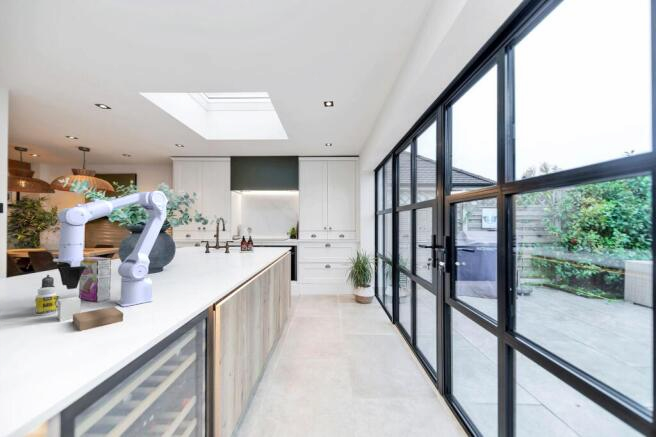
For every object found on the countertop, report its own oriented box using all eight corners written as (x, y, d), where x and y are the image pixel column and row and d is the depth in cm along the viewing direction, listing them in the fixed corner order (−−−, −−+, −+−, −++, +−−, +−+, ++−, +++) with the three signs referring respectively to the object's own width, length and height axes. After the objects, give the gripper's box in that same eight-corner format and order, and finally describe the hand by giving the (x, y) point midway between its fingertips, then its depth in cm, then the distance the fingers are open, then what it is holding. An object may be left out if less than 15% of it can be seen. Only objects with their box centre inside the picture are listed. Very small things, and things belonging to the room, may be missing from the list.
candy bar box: (77, 299, 104) (78, 257, 104) (92, 296, 109) (93, 256, 109) (96, 302, 100) (97, 259, 100) (110, 299, 105) (111, 258, 105)
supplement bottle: (42, 316, 86) (42, 290, 86) (31, 315, 87) (31, 289, 87) (59, 311, 90) (60, 287, 90) (49, 310, 91) (49, 286, 91)
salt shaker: (31, 309, 92) (32, 275, 92) (53, 304, 97) (54, 272, 97) (39, 312, 90) (40, 276, 90) (62, 306, 95) (63, 273, 95)
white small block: (77, 314, 88) (77, 296, 88) (80, 317, 85) (80, 299, 85) (57, 318, 84) (58, 299, 85) (60, 321, 82) (60, 302, 82)
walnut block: (113, 315, 89) (113, 306, 89) (122, 322, 83) (123, 313, 83) (72, 324, 81) (73, 314, 81) (80, 332, 75) (80, 322, 75)
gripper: (50, 243, 87) (48, 285, 86) (58, 246, 78) (55, 293, 77) (79, 242, 92) (77, 281, 92) (89, 245, 83) (87, 288, 83)
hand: (69, 286), depth 85 cm, fingers open, 7 cm apart
